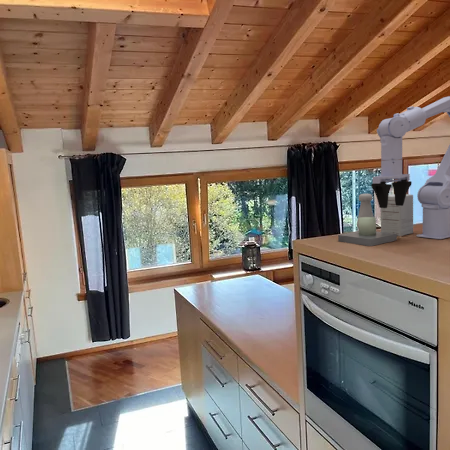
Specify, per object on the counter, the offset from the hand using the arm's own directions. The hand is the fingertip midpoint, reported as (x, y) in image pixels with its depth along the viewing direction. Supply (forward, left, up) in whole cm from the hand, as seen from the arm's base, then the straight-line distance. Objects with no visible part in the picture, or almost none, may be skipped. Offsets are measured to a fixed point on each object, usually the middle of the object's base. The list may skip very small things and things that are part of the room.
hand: (391, 206), depth 127 cm
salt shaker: (-9, -17, -11) cm, 22 cm away
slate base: (+4, -6, -10) cm, 12 cm away
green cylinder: (+4, -6, -8) cm, 11 cm away
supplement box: (-12, -7, -11) cm, 18 cm away
